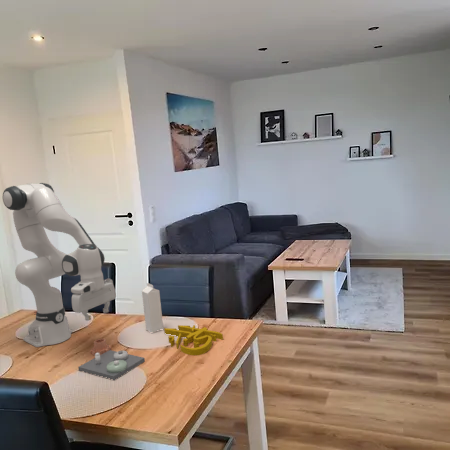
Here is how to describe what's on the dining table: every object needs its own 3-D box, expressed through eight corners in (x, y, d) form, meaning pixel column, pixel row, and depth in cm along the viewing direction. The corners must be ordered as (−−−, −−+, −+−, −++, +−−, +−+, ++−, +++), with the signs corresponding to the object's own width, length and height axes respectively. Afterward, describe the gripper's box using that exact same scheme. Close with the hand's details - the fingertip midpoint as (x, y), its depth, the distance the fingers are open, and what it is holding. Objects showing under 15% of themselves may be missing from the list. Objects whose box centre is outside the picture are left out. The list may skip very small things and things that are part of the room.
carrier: (78, 370, 164) (76, 355, 163) (110, 353, 177) (108, 339, 176) (114, 380, 154) (112, 364, 153) (145, 361, 167) (143, 347, 166)
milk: (151, 333, 195) (146, 286, 192) (145, 330, 200) (140, 284, 197) (163, 329, 199) (158, 283, 196) (157, 326, 204) (152, 281, 201)
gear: (87, 353, 179) (85, 343, 178) (101, 346, 186) (100, 335, 185) (100, 356, 175) (99, 346, 174) (114, 349, 181) (113, 338, 181)
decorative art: (197, 351, 167) (144, 337, 185) (198, 358, 167) (145, 343, 185) (229, 332, 183) (178, 321, 201) (230, 338, 184) (178, 327, 202)
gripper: (106, 276, 186) (110, 307, 188) (67, 290, 169) (72, 323, 171) (117, 277, 183) (121, 308, 185) (77, 291, 166) (82, 325, 168)
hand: (97, 316), depth 178 cm, fingers open, 8 cm apart
